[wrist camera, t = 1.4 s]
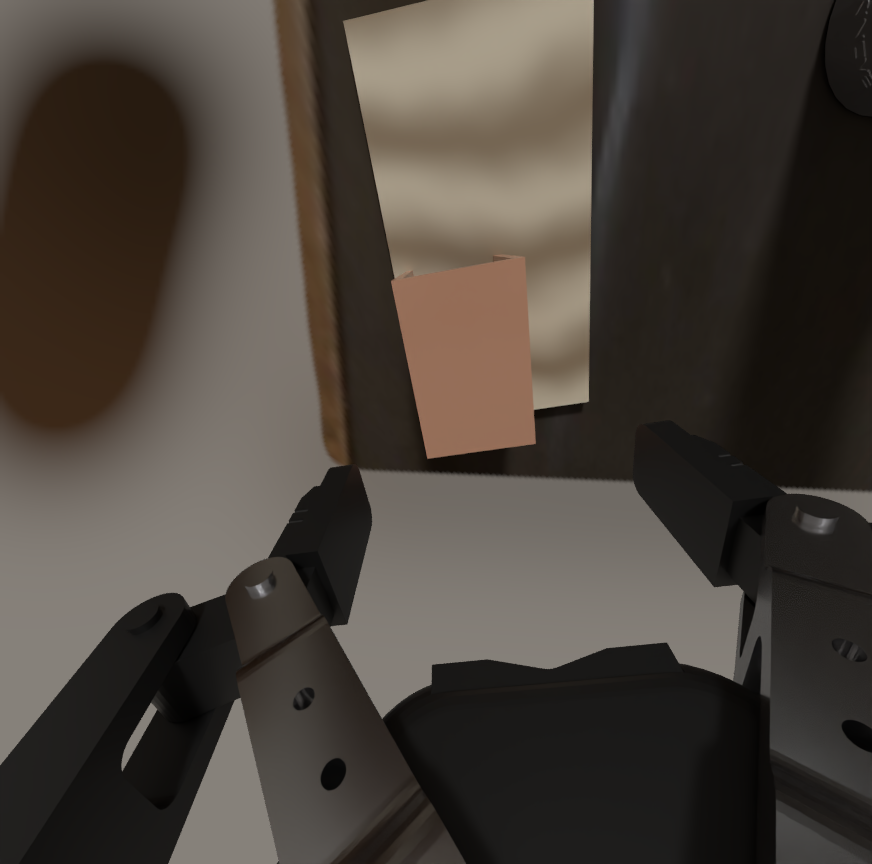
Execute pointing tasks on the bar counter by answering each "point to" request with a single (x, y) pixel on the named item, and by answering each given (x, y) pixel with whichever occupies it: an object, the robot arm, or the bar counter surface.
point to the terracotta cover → (469, 355)
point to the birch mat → (489, 154)
